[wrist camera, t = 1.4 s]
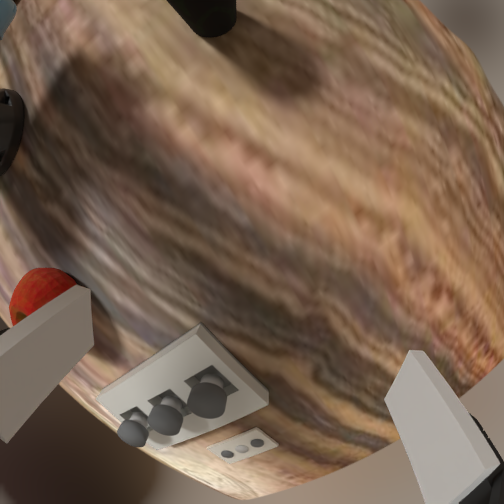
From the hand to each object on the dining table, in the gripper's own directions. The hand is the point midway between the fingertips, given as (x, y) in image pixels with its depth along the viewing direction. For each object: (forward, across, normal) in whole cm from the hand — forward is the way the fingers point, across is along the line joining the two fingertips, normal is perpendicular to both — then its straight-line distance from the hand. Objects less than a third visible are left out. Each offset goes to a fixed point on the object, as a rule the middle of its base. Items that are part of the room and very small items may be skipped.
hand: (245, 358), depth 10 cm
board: (+23, -8, -26) cm, 35 cm away
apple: (+23, -27, -14) cm, 38 cm away
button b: (+20, -8, -26) cm, 34 cm away
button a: (+20, -3, -20) cm, 28 cm away
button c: (+20, -13, -32) cm, 40 cm away
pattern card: (+23, +4, -36) cm, 43 cm away
